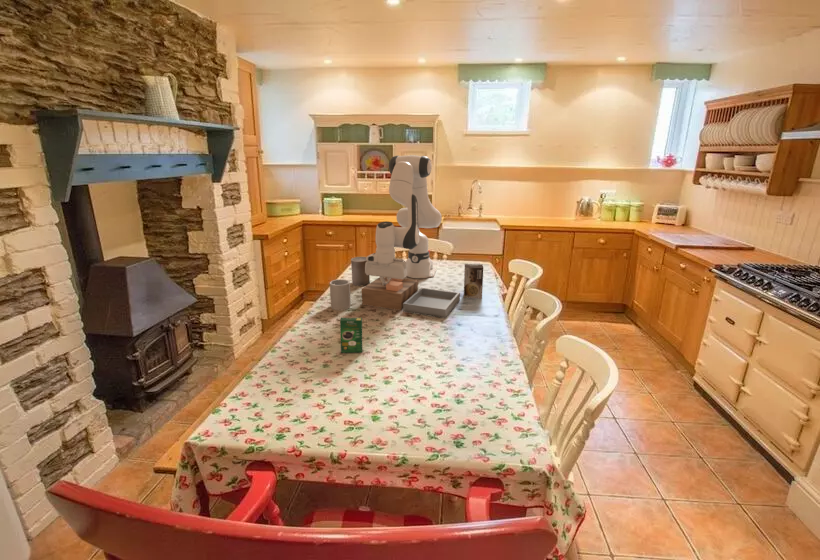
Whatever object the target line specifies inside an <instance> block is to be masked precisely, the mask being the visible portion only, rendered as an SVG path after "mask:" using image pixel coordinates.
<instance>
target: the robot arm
mask: <svg viewBox="0 0 820 560" xmlns="http://www.w3.org/2000/svg"><path fill="white" fill-rule="evenodd" d="M432 167H433V165H432V160H431V159H430V158H429V157H428V156H425V155H416V154H415V155H414V154H409V155H395V156H391V158H390V159H389V162H388V170H389V171H388V172H389V174H390V180H389V187H388V193H389V195H390V197H391V199H392V200H393V201H395V202H396V203H398V204H399V205H401V206H404V207H402V208H400V209H399V210H397V212H396V222H397V223H398V225H399V226H395V225H394V223H393V222H391V221H381V222H378V224H377V225H376V229H375V246H376V248H375V252H374V253H370V254H369V255H367V256H365V257H366V260H367V262H366V264H365V273H366V275H369V276H372V277H378V278H379V277H380V280H381V281H382V286H386V284H388V283H389V282H390V280H391V279H392V278H395V279H406V278H407V277H408V278H411V279H412V278H413V279H426V278H434V276H435V275H436V273H437V270H438V269H437V268H436V267H434V261H433V260H432V259H431V258H430V253H431V250H430V249H429V238H428V237H427V235H426V234H424V233H422V232H421V231H420V229H421V228H422V229H423V228H424V229H434V228H439V226H440V225H441V224H442V220H443V219H442V217H443V216H442V213H441V212H440V211H439V209H437V208H436V207H435V206H434V205H433V203H432V202H431V200H430V198H429V191H428V179H427V177H429V176H430V174H431V173H432ZM396 248H402V249H407V250H408V253H407V256H408V258H407V259H406V260H404V259H402V258H396ZM385 277H387V280H388V281H387V282H385V280H384V278H385Z"/></svg>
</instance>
